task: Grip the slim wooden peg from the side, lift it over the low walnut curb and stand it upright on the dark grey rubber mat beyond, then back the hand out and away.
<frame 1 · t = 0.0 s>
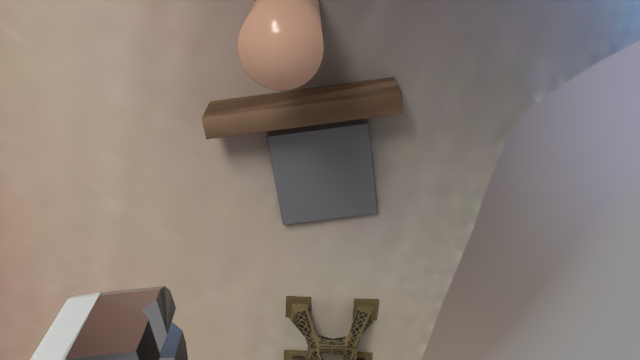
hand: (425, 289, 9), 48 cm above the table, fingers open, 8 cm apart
rubber mat: (323, 172, 61), on the table
eiffel tower: (329, 333, 70), on the table
walnut curb: (303, 99, 58), on the table
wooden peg: (289, 5, 54), on the table
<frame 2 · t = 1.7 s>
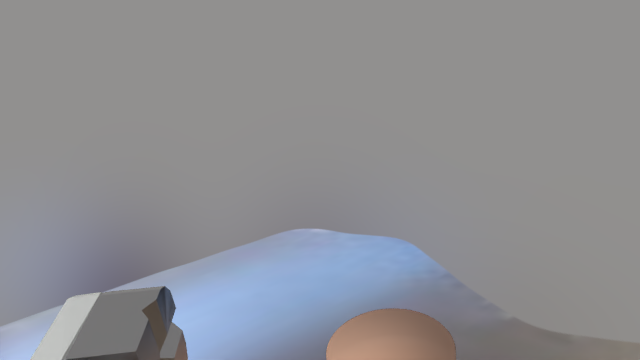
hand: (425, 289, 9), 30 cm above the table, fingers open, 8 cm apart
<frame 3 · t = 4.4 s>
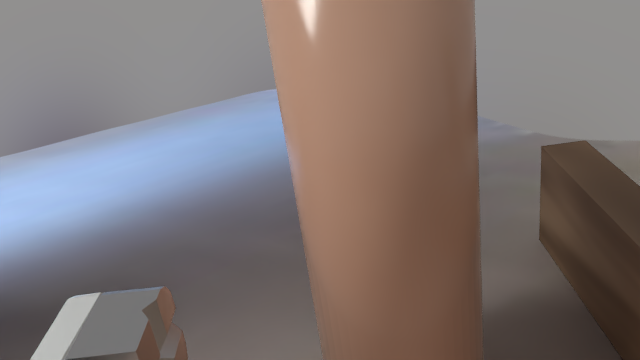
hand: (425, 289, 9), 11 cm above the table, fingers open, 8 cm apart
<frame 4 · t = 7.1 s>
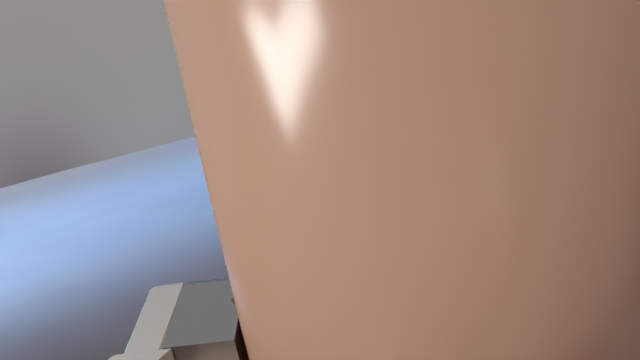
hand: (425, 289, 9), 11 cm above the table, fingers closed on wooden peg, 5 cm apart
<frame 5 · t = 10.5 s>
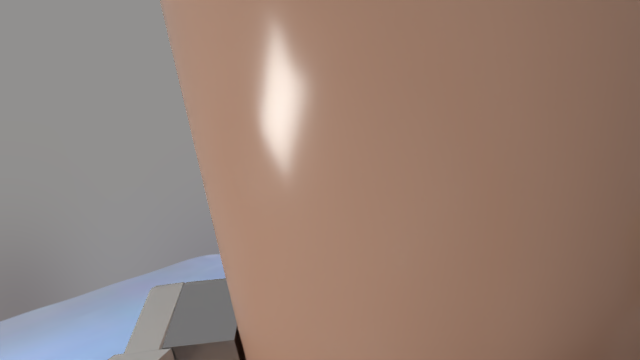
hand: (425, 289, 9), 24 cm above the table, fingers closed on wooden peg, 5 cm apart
when the fingers open (13 cm above the table, at t = 13.9 s): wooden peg stays where it is, resting on rubber mat.
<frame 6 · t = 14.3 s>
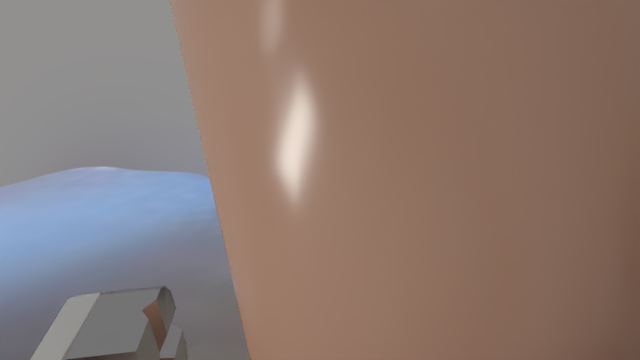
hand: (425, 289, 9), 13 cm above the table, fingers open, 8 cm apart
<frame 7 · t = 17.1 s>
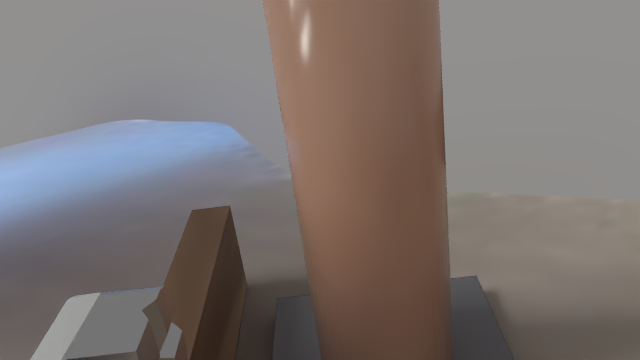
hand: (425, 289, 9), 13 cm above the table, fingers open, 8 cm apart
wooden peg: (386, 357, 25), point 1 cm above the table, touching rubber mat
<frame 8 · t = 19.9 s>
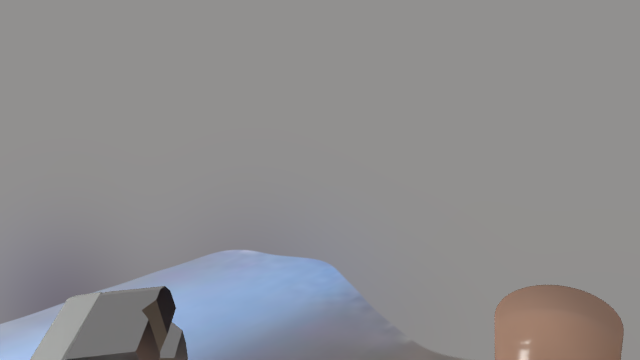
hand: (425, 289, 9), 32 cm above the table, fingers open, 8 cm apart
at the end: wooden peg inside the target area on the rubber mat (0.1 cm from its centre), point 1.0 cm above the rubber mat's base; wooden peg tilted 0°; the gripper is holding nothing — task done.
